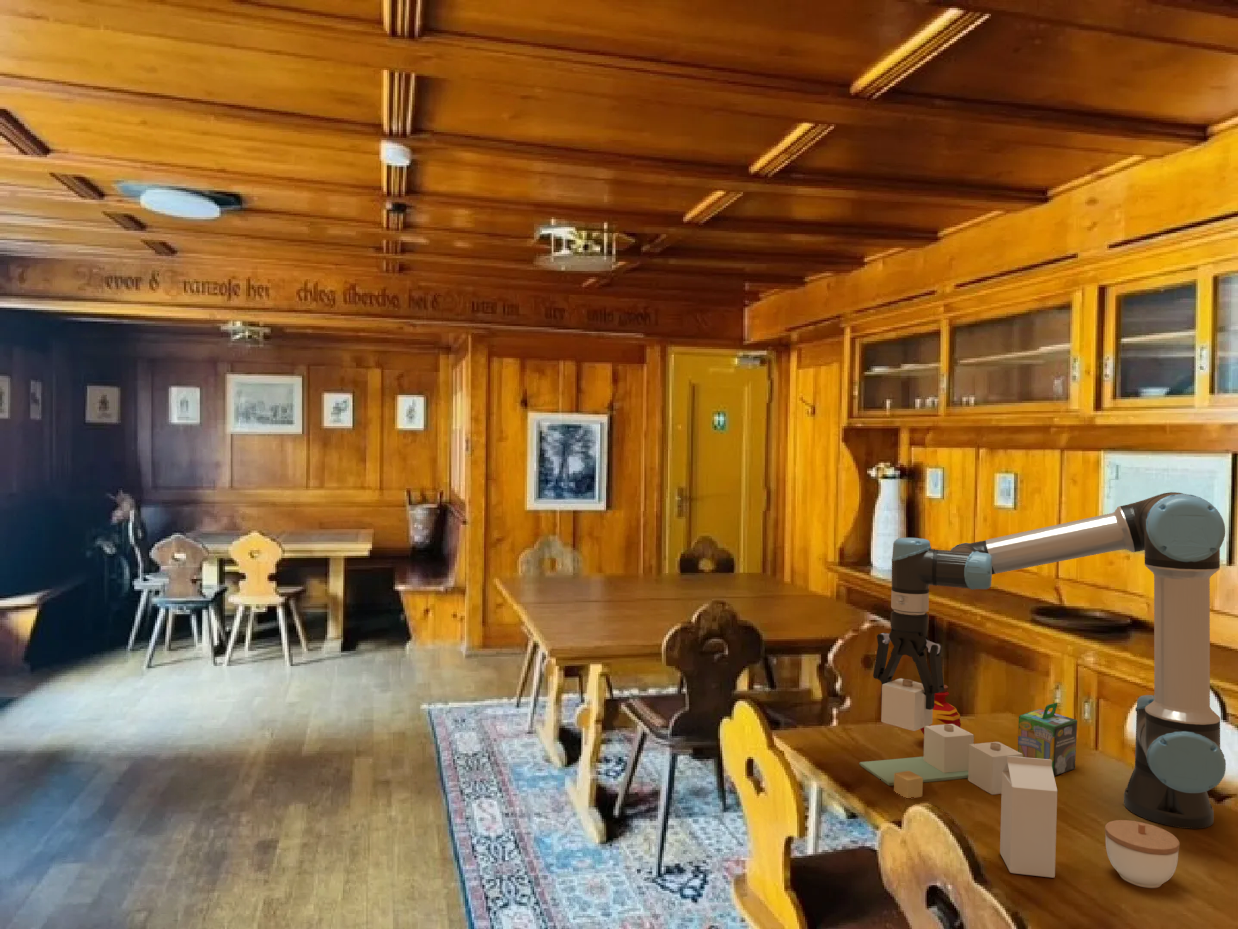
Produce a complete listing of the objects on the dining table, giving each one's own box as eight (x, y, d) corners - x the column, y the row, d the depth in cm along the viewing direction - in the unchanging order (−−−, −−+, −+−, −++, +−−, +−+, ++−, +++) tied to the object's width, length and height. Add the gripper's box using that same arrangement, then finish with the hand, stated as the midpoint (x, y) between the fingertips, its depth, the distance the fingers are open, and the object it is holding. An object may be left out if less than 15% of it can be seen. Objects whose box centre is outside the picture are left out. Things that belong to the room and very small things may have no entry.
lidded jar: (1149, 863, 147) (1151, 810, 147) (1193, 896, 137) (1195, 839, 136) (1090, 863, 147) (1091, 810, 147) (1129, 896, 136) (1131, 839, 136)
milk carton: (1055, 879, 141) (1058, 767, 141) (1009, 874, 143) (1012, 763, 142) (1042, 858, 148) (1045, 752, 148) (999, 854, 150) (1002, 749, 149)
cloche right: (1021, 791, 177) (1022, 749, 177) (991, 794, 176) (992, 752, 175) (997, 777, 185) (998, 737, 184) (968, 780, 183) (969, 739, 183)
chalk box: (1038, 756, 198) (1040, 694, 198) (1077, 769, 190) (1078, 705, 190) (1015, 763, 193) (1016, 700, 193) (1053, 777, 185) (1055, 711, 185)
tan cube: (922, 797, 174) (922, 777, 174) (907, 799, 173) (907, 780, 172) (908, 789, 178) (909, 770, 178) (893, 792, 176) (894, 773, 176)
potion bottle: (906, 742, 206) (908, 681, 206) (941, 738, 210) (943, 678, 209) (934, 757, 196) (936, 693, 196) (970, 753, 200) (972, 690, 199)
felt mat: (984, 776, 185) (984, 773, 185) (889, 785, 179) (889, 783, 179) (950, 756, 197) (950, 754, 197) (859, 765, 191) (859, 762, 191)
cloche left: (932, 723, 177) (933, 681, 176) (914, 731, 172) (915, 687, 171) (899, 714, 182) (900, 673, 182) (881, 721, 177) (882, 679, 177)
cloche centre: (951, 758, 194) (952, 719, 194) (973, 770, 187) (974, 730, 187) (923, 760, 193) (924, 721, 192) (943, 773, 185) (944, 732, 185)
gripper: (857, 606, 181) (854, 710, 182) (947, 621, 166) (944, 735, 167) (875, 602, 187) (873, 703, 187) (965, 617, 171) (962, 727, 172)
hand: (906, 718), depth 177 cm, fingers closed on cloche left, 7 cm apart
